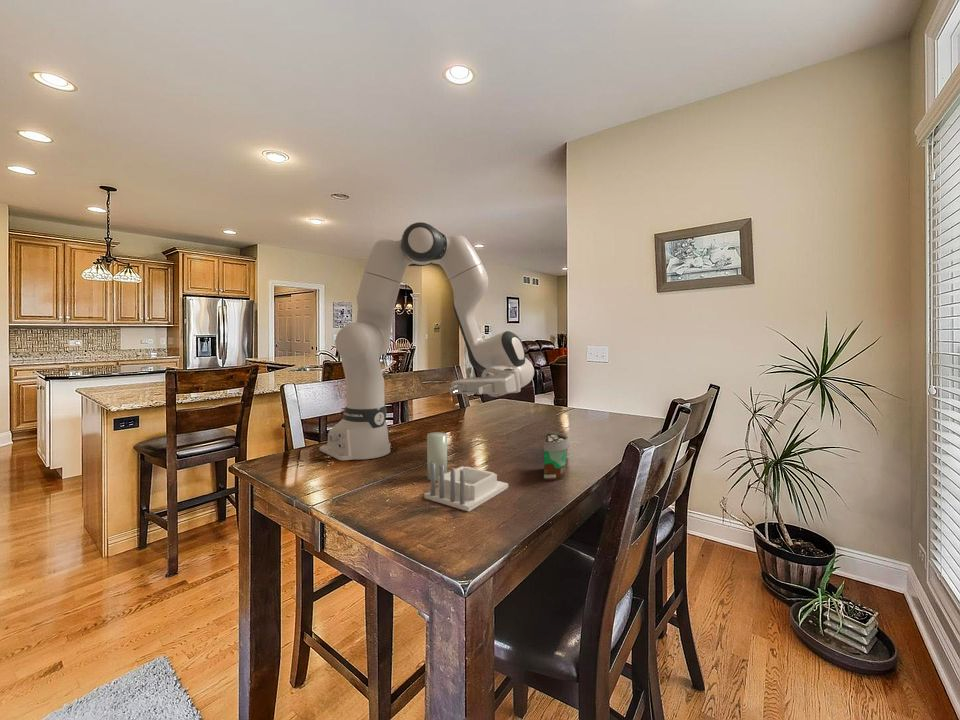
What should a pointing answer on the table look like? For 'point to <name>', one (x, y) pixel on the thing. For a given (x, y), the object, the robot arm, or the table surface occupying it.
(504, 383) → the robot arm
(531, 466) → the table surface
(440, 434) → the pale green canister
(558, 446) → the food container
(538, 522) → the table surface
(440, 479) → the dish rack
